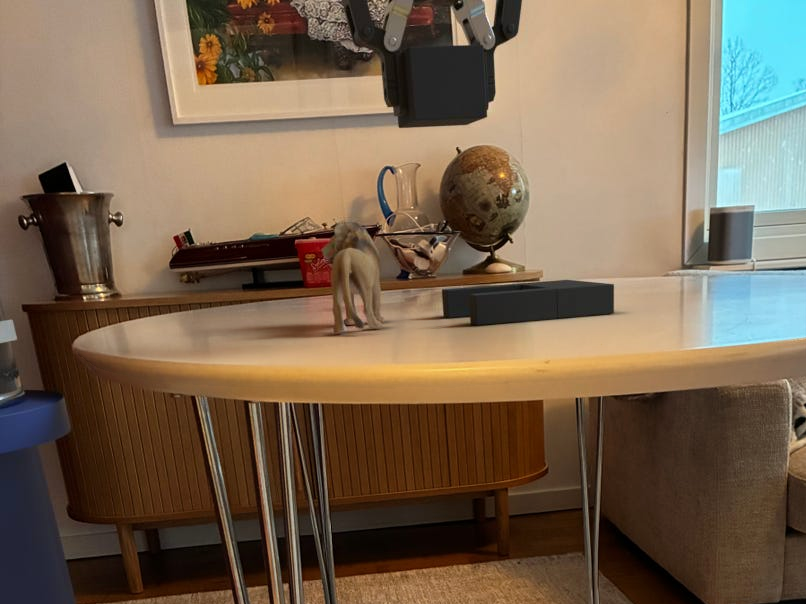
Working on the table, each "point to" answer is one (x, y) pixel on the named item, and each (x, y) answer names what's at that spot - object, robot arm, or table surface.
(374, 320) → the lion figurine
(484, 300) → the big pad
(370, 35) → the robot arm
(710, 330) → the table surface
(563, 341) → the table surface
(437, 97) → the small black block
